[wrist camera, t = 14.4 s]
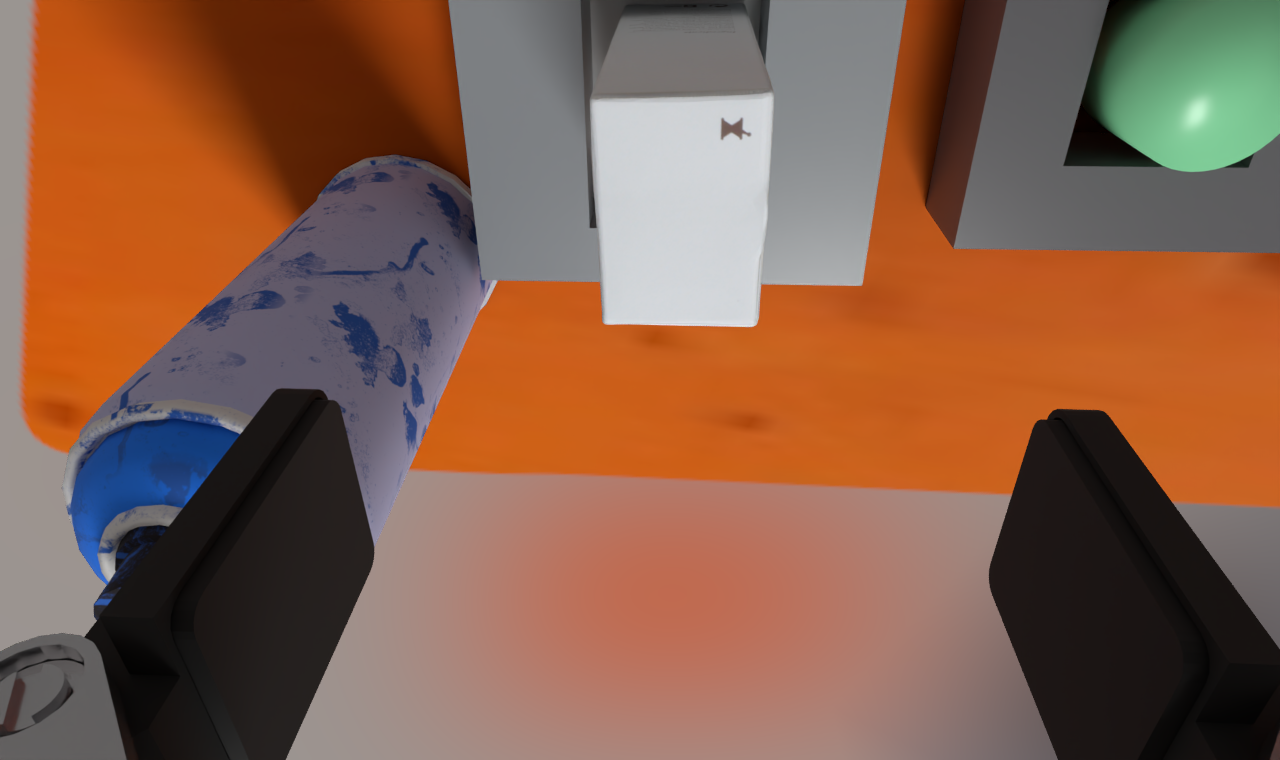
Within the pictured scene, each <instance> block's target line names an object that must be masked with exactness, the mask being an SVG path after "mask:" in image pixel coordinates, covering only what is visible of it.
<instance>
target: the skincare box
mask: <svg viewBox="0 0 1280 760" xmlns="http://www.w3.org/2000/svg"><path fill="white" fill-rule="evenodd" d="M773 114H774V91H773V87H772V83H771V80H770V77H769V74H768V72H767V69H766V66H765V64H764V61H763V57H762V54H761V51H760V49H759V46H758V43H757V40H756V37H755V34H754V31H753V27H752V24H751V22H750V18H749V16H748V13H747V10H746V7H745V4H742V3H735V4H669V5H626V6H625V7H624V10H623V12H622V14H621V18H620V20H619V23H618V26H617V28H616V31H615V33H614V36H613V38H612V41H611V43H610V47H609V49H608V52H607V55H606V57H605V60H604V63H603V65H602V68H601V71H600V73H599V76H598V79H597V81H596V84H595V87H594V89H593V92H592V95H591V97H590V126H591V159H592V177H593V191H594V201H595V213H596V225H597V240H598V256H599V270H600V286H601V302H602V321H603V323H605V324H644V325H684V326H733V327H753V326H755V325H756V324H757V322H758V319H759V306H760V292H761V279H762V265H763V252H764V242H765V236H766V229H767V220H768V193H769V181H770V164H771V148H772V133H773Z"/></svg>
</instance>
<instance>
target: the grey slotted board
mask: <svg viewBox="0 0 1280 760" xmlns="http://www.w3.org/2000/svg"><path fill="white" fill-rule="evenodd" d="M448 1H449V10H450V18H451V26H452V35H453V43H454V51H455V60H456V68H457V76H458V85H459V93H460V101H461V110H462V118H463V126H464V135H465V143H466V152H467V160H468V168H469V177H470V185H471V193H472V202H473V210H474V218H475V227H476V235H477V243H478V252H479V260H480V268H481V277H482V280H512V281H579V282H600V270H599V256H598V240H597V225H596V213H595V201H594V191H593V177H592V159H591V126H590V97H591V95H592V92H593V89H594V87H595V84H596V81H597V79H598V76H599V73H600V71H601V68H602V65H603V63H604V60H605V57H606V55H607V52H608V49H609V47H610V43H611V41H612V38H613V36H614V33H615V31H616V28H617V26H618V23H619V20H620V18H621V14H622V12H623V10H624V7H625V6H626V5H669V4H735V3H742V4H745V7H746V10H747V13H748V16H749V18H750V22H751V24H752V27H753V31H754V34H755V37H756V40H757V43H758V46H759V49H760V51H761V54H762V57H763V61H764V64H765V66H766V69H767V72H768V74H769V77H770V80H771V83H772V87H773V91H774V114H773V133H772V148H771V164H770V181H769V193H768V220H767V229H766V236H765V242H764V252H763V265H762V279H761V284H782V285H850V286H862V283H863V276H864V270H865V263H866V257H867V251H868V244H869V238H870V231H871V225H872V218H873V212H874V206H875V199H876V193H877V186H878V180H879V174H880V167H881V161H882V154H883V148H884V141H885V135H886V129H887V122H888V116H889V109H890V103H891V96H892V90H893V84H894V77H895V71H896V64H897V58H898V52H899V45H900V39H901V32H902V26H903V19H904V13H905V7H906V0H448Z"/></svg>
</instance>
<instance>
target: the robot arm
mask: <svg viewBox="0 0 1280 760" xmlns="http://www.w3.org/2000/svg"><path fill="white" fill-rule="evenodd" d="M373 560H374V542H373V538H372V534H371V530H370V526H369V522H368V517H367V513H366V509H365V505H364V501H363V497H362V493H361V489H360V485H359V481H358V477H357V473H356V469H355V465H354V460H353V456H352V452H351V448H350V444H349V440H348V436H347V432H346V428H345V424H344V420H343V416H342V412H341V408H340V405H339V404H338V402H337V401H335V400H328V398H327V395H326V394H325V393H324V391H322V390H320V389H293V388H280V389H276V390H275V391H274V392H273V393H272V394H271V395H270V397H269V398H268V399H267V401H266V402H265V403H264V404H263V406H262V407H261V408H260V410H259V411H258V412H257V413H256V415H255V416H254V417H253V419H252V420H251V421H250V423H249V424H248V425H247V426H246V428H245V429H244V430H243V432H242V433H241V434H240V435H239V437H238V438H237V439H236V441H235V442H234V443H233V444H232V446H231V447H230V448H229V450H228V451H227V452H226V453H225V455H224V456H223V457H222V459H221V460H220V461H219V462H218V464H217V465H216V466H215V468H214V469H213V470H212V471H211V473H210V474H209V475H208V477H207V478H206V479H205V480H204V482H203V483H202V484H201V486H200V487H199V488H198V489H197V491H196V492H195V493H194V495H193V496H192V497H191V498H190V500H189V501H188V502H187V504H186V505H185V506H184V507H183V509H182V510H181V511H180V513H179V514H178V515H177V516H176V518H175V519H174V520H173V522H172V523H171V524H170V525H169V527H168V528H167V529H166V531H165V532H164V533H163V534H162V536H161V537H160V538H159V540H158V541H157V542H156V543H155V545H154V546H153V547H152V549H151V550H150V551H149V552H148V554H147V555H146V556H145V558H144V559H143V560H142V561H141V563H140V564H139V565H138V567H137V568H136V569H135V570H134V572H133V573H132V574H131V576H130V577H129V578H128V579H127V581H126V582H125V583H124V585H123V586H122V587H121V588H120V590H119V591H118V592H117V594H116V595H115V596H114V597H113V599H112V600H111V601H110V603H109V604H108V605H107V606H106V608H105V609H104V610H103V612H102V613H101V614H100V615H99V617H100V618H99V619H98V620H97V622H96V623H95V624H94V626H93V627H92V628H91V629H90V630H89V632H88V633H87V634H86V636H85V637H82V636H80V635H73V634H65V633H59V634H51V635H44V636H38V637H35V638H32V639H29V640H26V641H23V642H19V643H16V644H14V645H12V646H10V647H8V648H6V649H4V650H2V651H0V760H286V758H287V755H288V753H289V751H290V749H291V746H292V744H293V742H294V740H295V738H296V735H297V733H298V731H299V729H300V726H301V724H302V722H303V720H304V718H305V715H306V713H307V711H308V709H309V706H310V704H311V702H312V700H313V698H314V695H315V693H316V691H317V689H318V686H319V684H320V682H321V680H322V678H323V675H324V673H325V671H326V669H327V666H328V664H329V662H330V660H331V657H332V655H333V653H334V651H335V649H336V646H337V644H338V642H339V640H340V637H341V635H342V633H343V631H344V628H345V626H346V624H347V622H348V620H349V617H350V615H351V613H352V611H353V608H354V606H355V604H356V602H357V599H358V597H359V595H360V593H361V591H362V589H363V586H364V584H365V582H366V580H367V577H368V575H369V573H370V570H371V568H372V565H373ZM989 584H990V589H991V592H992V596H993V598H994V601H995V603H996V606H997V608H998V610H999V613H1000V615H1001V618H1002V621H1003V623H1004V626H1005V628H1006V631H1007V633H1008V636H1009V638H1010V641H1011V643H1012V646H1013V648H1014V650H1015V653H1016V656H1017V658H1018V661H1019V663H1020V666H1021V668H1022V671H1023V673H1024V676H1025V678H1026V680H1027V683H1028V686H1029V688H1030V691H1031V693H1032V695H1033V698H1034V700H1035V703H1036V706H1037V708H1038V710H1039V713H1040V716H1041V718H1042V720H1043V723H1044V726H1045V728H1046V730H1047V733H1048V735H1049V738H1050V741H1051V743H1052V745H1053V748H1054V750H1055V753H1056V756H1057V758H1058V760H1280V649H1279V648H1278V646H1277V645H1276V644H1275V642H1274V641H1273V639H1272V638H1271V637H1270V635H1269V634H1268V633H1267V631H1266V630H1265V629H1264V627H1263V626H1262V625H1261V623H1260V622H1259V620H1258V619H1257V618H1256V616H1255V615H1254V614H1253V612H1252V611H1251V609H1250V608H1249V607H1248V605H1247V604H1246V603H1245V602H1244V600H1243V599H1242V597H1241V596H1240V594H1239V593H1238V592H1237V590H1236V589H1235V588H1234V586H1233V585H1232V583H1231V582H1230V581H1229V579H1228V578H1227V577H1226V575H1225V574H1224V573H1223V571H1222V570H1221V568H1220V567H1219V566H1218V564H1217V563H1216V562H1215V560H1214V559H1213V558H1212V556H1211V555H1210V553H1209V552H1208V551H1207V549H1206V548H1205V547H1204V545H1203V544H1202V543H1201V541H1200V540H1199V538H1198V537H1197V536H1196V534H1195V533H1194V532H1193V531H1192V529H1191V528H1190V526H1189V525H1188V523H1187V522H1186V521H1185V520H1184V518H1183V517H1182V515H1181V514H1180V512H1179V511H1178V510H1177V509H1176V507H1175V506H1174V504H1173V503H1172V502H1171V500H1170V499H1169V497H1168V496H1167V495H1166V493H1165V492H1164V491H1163V489H1162V488H1161V487H1160V485H1159V484H1158V482H1157V481H1156V480H1155V478H1154V477H1153V476H1152V474H1151V473H1150V472H1149V470H1148V469H1147V467H1146V466H1145V465H1144V463H1143V462H1142V461H1141V459H1140V458H1139V457H1138V455H1137V454H1136V452H1135V451H1134V450H1133V448H1132V447H1131V446H1130V444H1129V443H1128V442H1127V440H1126V439H1125V437H1124V436H1123V435H1122V433H1121V432H1120V431H1119V429H1118V428H1117V426H1116V425H1115V424H1114V422H1113V421H1112V420H1111V418H1110V417H1109V416H1108V415H1107V414H1106V413H1105V412H1104V411H1100V410H1072V409H1056V410H1054V411H1052V412H1051V414H1050V415H1049V416H1048V419H1047V420H1039V421H1037V422H1036V423H1035V425H1034V427H1033V430H1032V433H1031V436H1030V439H1029V442H1028V446H1027V449H1026V452H1025V455H1024V458H1023V462H1022V465H1021V468H1020V471H1019V474H1018V478H1017V481H1016V484H1015V487H1014V490H1013V494H1012V497H1011V500H1010V503H1009V506H1008V510H1007V513H1006V516H1005V519H1004V522H1003V526H1002V529H1001V532H1000V535H999V538H998V542H997V545H996V548H995V551H994V554H993V557H992V561H991V564H990V569H989Z"/></svg>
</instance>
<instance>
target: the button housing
mask: <svg viewBox="0 0 1280 760" xmlns="http://www.w3.org/2000/svg"><path fill="white" fill-rule="evenodd" d="M1108 3H1109V0H965V4H964V9H963V14H962V19H961V25H960V30H959V35H958V40H957V46H956V51H955V56H954V61H953V67H952V72H951V77H950V82H949V87H948V93H947V98H946V103H945V108H944V114H943V119H942V124H941V129H940V135H939V140H938V145H937V150H936V156H935V161H934V166H933V171H932V176H931V182H930V187H929V192H928V197H927V203H926V209H927V210H928V212H929V213H930V215H931V216H932V218H933V219H934V221H935V222H936V224H937V225H938V227H939V228H940V229H941V231H942V232H943V234H944V235H945V237H946V238H947V240H948V241H949V243H950V244H951V246H952V247H953V249H1020V250H1097V251H1174V252H1251V253H1280V134H1279V135H1277V136H1276V137H1275V138H1274V139H1273V140H1272V141H1271V142H1269V143H1268V144H1267V145H1265V146H1264V147H1263V148H1261V149H1260V150H1258V151H1257V152H1255V153H1253V154H1252V155H1250V156H1248V157H1246V158H1244V159H1242V160H1240V161H1238V162H1236V163H1233V164H1231V165H1228V166H1225V167H1222V168H1218V169H1215V170H1209V171H1201V172H1186V171H1178V170H1174V169H1170V168H1168V167H1165V166H1162V165H1161V164H1159V163H1157V162H1155V161H1154V160H1152V159H1151V158H1149V157H1148V156H1146V155H1145V154H1143V153H1141V152H1140V151H1138V150H1137V149H1135V148H1134V147H1132V146H1131V145H1129V144H1128V143H1126V142H1125V141H1123V140H1122V139H1120V138H1119V137H1117V136H1116V135H1114V134H1112V133H1111V132H1073V129H1074V125H1075V122H1076V118H1077V114H1078V111H1079V107H1080V104H1081V100H1082V96H1083V93H1084V89H1085V86H1086V82H1087V78H1088V75H1089V71H1090V68H1091V64H1092V60H1093V57H1094V53H1095V50H1096V46H1097V42H1098V39H1099V35H1100V32H1101V28H1102V24H1103V21H1104V17H1105V14H1106V10H1107V6H1108Z"/></svg>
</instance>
